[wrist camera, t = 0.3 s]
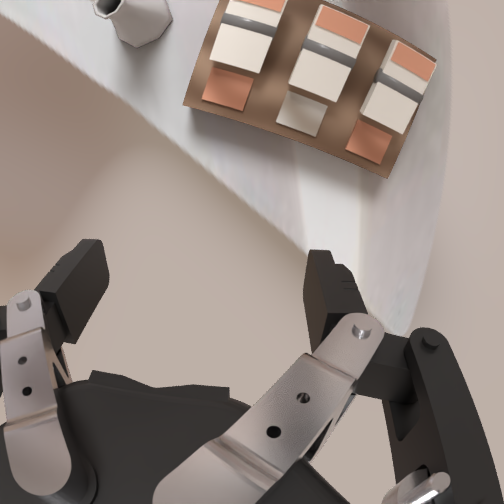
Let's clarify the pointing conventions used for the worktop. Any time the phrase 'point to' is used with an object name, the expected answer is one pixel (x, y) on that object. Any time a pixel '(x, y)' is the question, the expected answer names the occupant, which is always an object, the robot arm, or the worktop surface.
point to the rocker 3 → (398, 86)
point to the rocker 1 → (247, 32)
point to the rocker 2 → (328, 53)
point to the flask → (135, 18)
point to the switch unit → (301, 92)
